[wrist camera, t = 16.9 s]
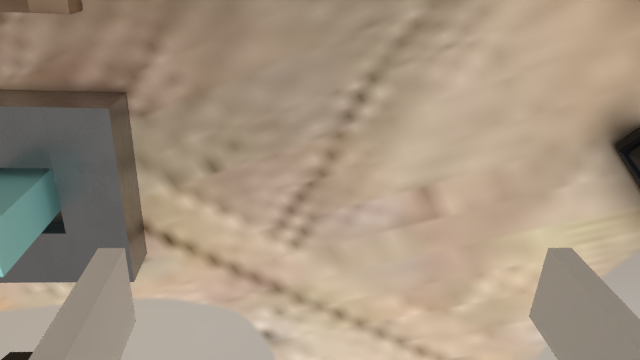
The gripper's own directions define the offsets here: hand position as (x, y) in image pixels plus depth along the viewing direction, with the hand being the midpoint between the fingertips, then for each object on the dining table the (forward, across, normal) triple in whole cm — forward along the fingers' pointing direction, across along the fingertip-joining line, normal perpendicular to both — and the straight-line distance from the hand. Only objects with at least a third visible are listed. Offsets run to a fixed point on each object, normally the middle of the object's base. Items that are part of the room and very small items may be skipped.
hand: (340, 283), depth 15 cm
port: (+29, -23, -10) cm, 38 cm away
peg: (+29, -23, -10) cm, 38 cm away
